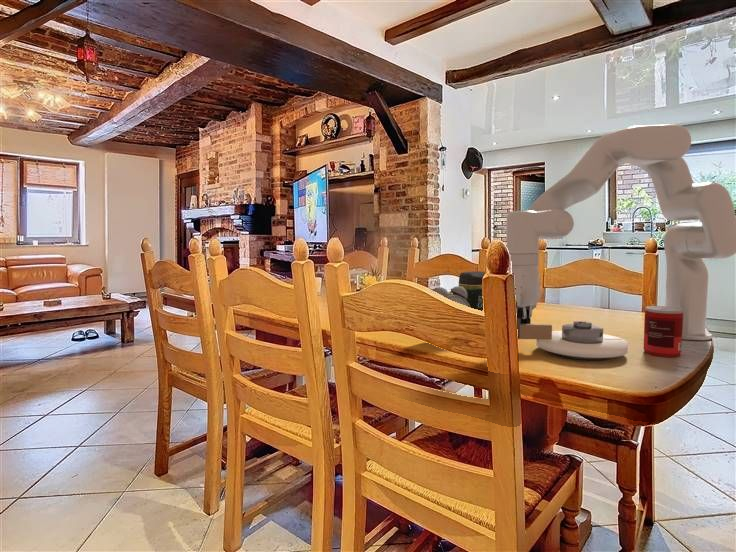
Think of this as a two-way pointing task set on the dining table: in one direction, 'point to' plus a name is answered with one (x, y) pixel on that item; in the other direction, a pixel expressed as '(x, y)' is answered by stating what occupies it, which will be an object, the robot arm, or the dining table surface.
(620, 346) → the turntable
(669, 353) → the canned food
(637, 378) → the dining table surface
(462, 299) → the alarm clock
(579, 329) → the cover
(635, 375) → the dining table surface
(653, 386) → the dining table surface
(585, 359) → the stand
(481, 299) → the coffee jar
